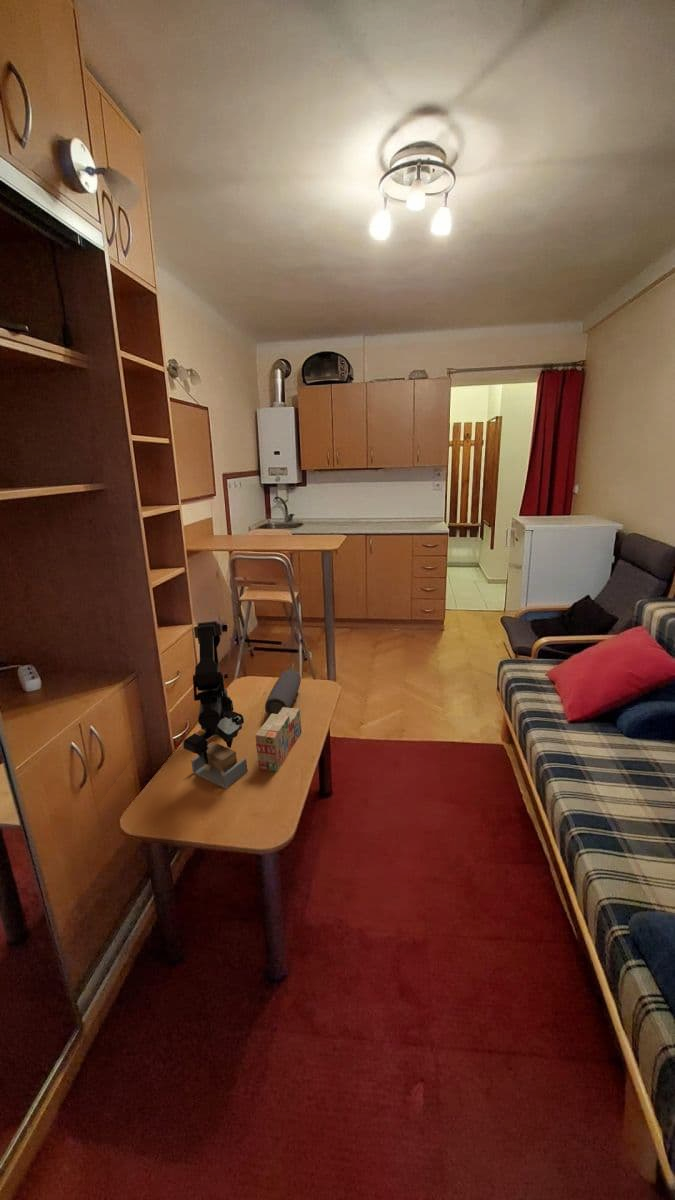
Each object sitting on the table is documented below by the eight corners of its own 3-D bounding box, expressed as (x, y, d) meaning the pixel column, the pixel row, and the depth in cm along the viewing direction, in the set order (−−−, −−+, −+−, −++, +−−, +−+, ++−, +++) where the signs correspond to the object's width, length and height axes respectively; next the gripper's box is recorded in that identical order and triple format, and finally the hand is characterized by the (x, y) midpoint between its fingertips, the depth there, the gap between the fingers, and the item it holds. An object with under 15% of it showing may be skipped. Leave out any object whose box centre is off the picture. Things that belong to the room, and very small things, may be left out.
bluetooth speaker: (280, 690, 189) (278, 668, 186) (302, 691, 187) (301, 668, 184) (264, 721, 167) (261, 696, 164) (289, 722, 166) (287, 697, 163)
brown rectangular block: (201, 761, 140) (199, 749, 139) (213, 752, 144) (212, 741, 143) (224, 772, 135) (223, 760, 134) (237, 762, 139) (235, 751, 138)
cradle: (193, 772, 141) (191, 760, 140) (215, 756, 148) (213, 745, 147) (225, 788, 134) (224, 776, 132) (247, 771, 141) (246, 758, 139)
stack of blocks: (285, 730, 161) (282, 698, 157) (302, 732, 159) (299, 700, 156) (258, 769, 142) (254, 734, 138) (277, 772, 140) (274, 737, 136)
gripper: (206, 733, 123) (213, 782, 127) (254, 702, 137) (259, 747, 142) (178, 722, 129) (186, 769, 133) (227, 693, 143) (233, 736, 148)
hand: (218, 755), depth 139 cm, fingers open, 9 cm apart
